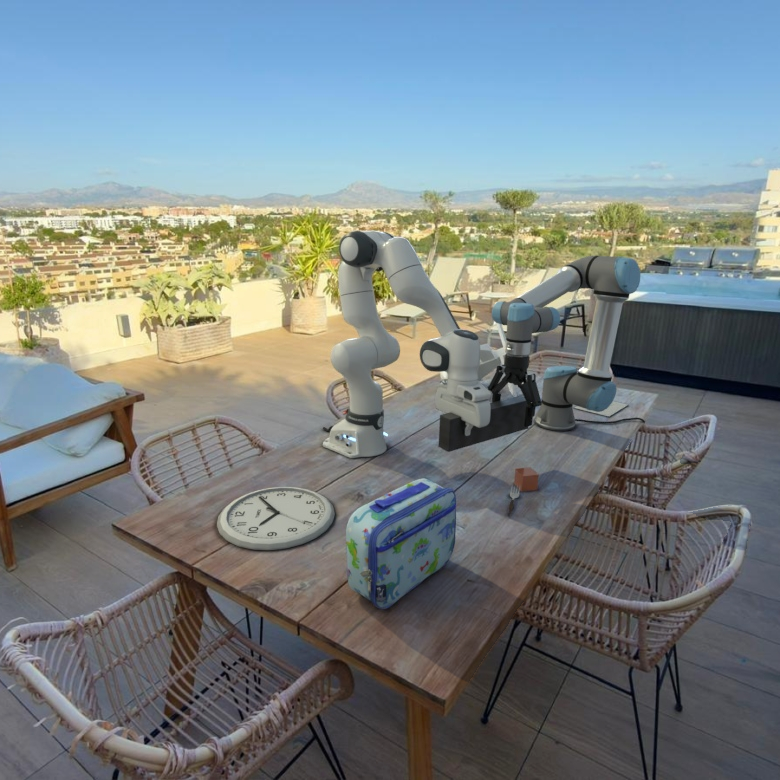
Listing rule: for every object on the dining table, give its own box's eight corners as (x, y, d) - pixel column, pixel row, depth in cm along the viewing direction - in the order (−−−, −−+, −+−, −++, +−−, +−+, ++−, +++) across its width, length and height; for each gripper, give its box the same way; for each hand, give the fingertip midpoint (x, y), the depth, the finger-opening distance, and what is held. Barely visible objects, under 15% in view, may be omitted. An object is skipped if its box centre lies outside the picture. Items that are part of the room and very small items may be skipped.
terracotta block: (529, 482, 158) (530, 467, 156) (537, 490, 153) (538, 474, 152) (513, 483, 157) (515, 468, 155) (521, 491, 152) (523, 476, 151)
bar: (517, 424, 173) (520, 395, 170) (528, 428, 169) (531, 399, 166) (438, 446, 154) (439, 414, 151) (448, 452, 150) (450, 419, 147)
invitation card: (608, 416, 214) (573, 407, 224) (608, 416, 214) (573, 408, 224) (628, 404, 229) (594, 396, 238) (628, 405, 229) (594, 397, 238)
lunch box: (375, 622, 100) (376, 527, 94) (339, 595, 108) (338, 505, 101) (459, 565, 118) (465, 481, 112) (424, 545, 125) (427, 465, 119)
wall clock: (333, 542, 123) (202, 546, 121) (333, 547, 124) (203, 552, 121) (335, 482, 152) (229, 485, 149) (335, 487, 152) (230, 490, 150)
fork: (503, 516, 138) (503, 510, 138) (511, 489, 153) (511, 483, 152) (513, 518, 137) (513, 511, 137) (520, 491, 152) (520, 485, 151)
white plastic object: (461, 429, 252) (437, 405, 227) (444, 352, 274) (420, 323, 250) (535, 404, 240) (518, 377, 215) (510, 326, 262) (492, 293, 237)
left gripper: (431, 379, 156) (429, 423, 161) (479, 398, 140) (475, 445, 145) (447, 376, 160) (444, 419, 164) (495, 394, 144) (491, 440, 148)
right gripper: (479, 348, 168) (475, 410, 174) (541, 364, 148) (534, 434, 155) (496, 345, 172) (491, 406, 178) (558, 361, 152) (550, 429, 159)
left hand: (459, 431), depth 154 cm, fingers closed on bar, 4 cm apart
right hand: (511, 419), depth 166 cm, fingers open, 13 cm apart
